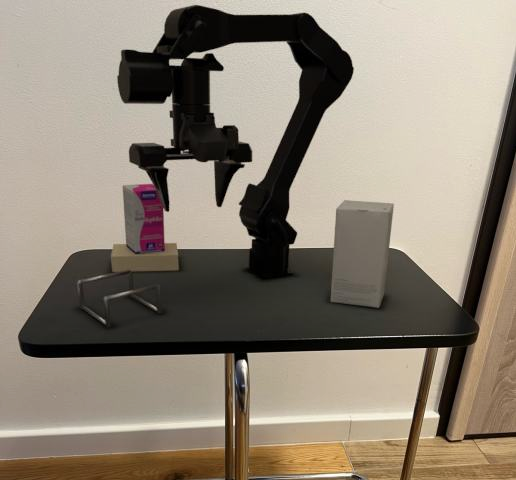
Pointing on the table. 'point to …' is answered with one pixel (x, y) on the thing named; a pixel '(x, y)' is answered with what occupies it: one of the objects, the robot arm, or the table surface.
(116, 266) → the ledge
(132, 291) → the rack
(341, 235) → the cosmetic box
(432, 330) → the table surface
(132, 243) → the supplement box
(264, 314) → the table surface
